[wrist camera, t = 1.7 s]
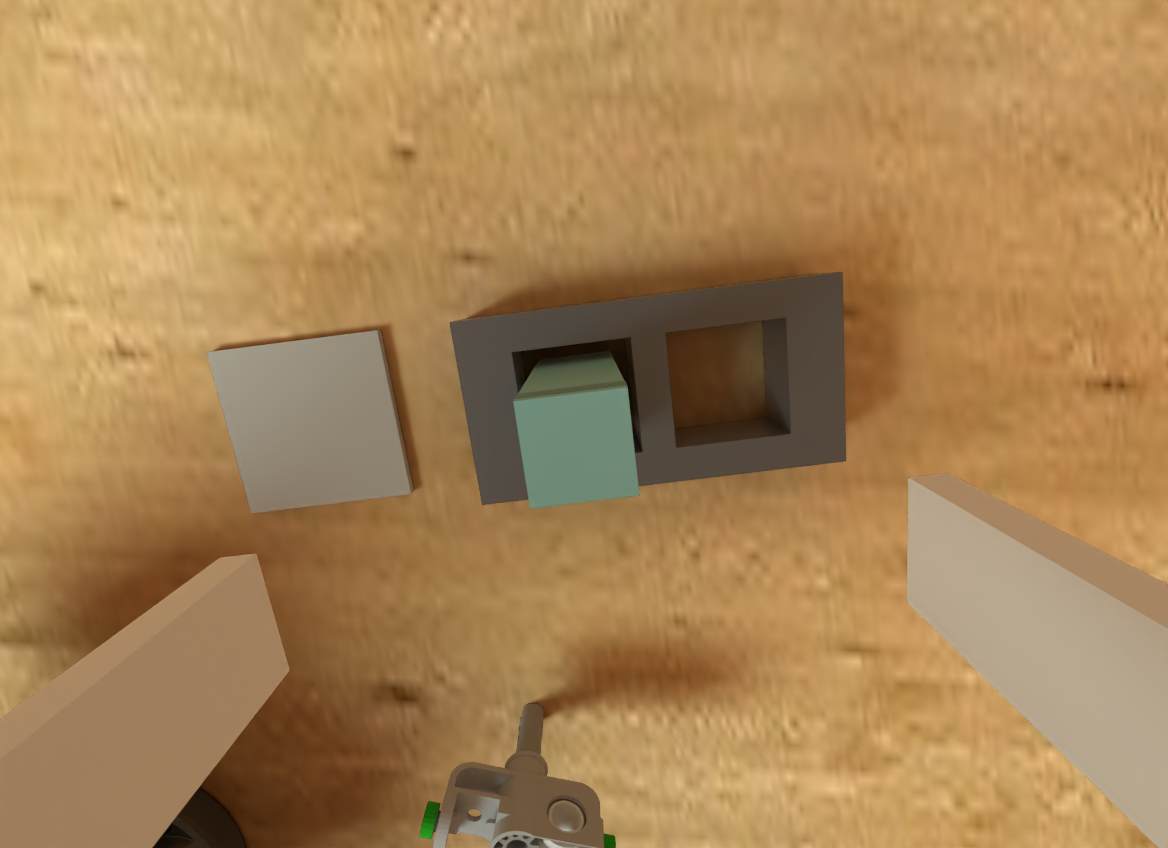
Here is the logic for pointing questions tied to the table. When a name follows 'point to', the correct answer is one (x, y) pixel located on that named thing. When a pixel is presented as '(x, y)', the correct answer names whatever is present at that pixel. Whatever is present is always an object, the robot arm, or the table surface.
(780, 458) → the cinder block
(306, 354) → the mat
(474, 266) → the table surface
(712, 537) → the table surface
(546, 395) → the plug
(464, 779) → the mechanical component
